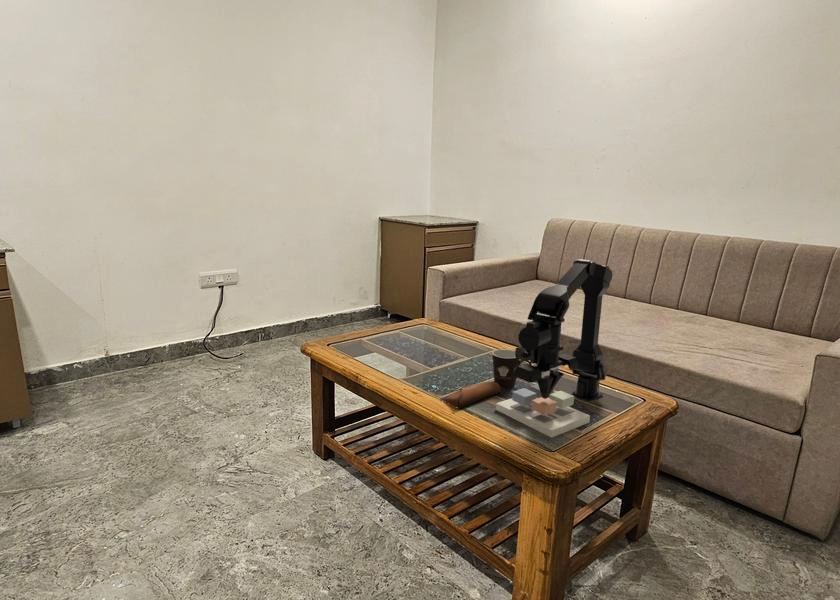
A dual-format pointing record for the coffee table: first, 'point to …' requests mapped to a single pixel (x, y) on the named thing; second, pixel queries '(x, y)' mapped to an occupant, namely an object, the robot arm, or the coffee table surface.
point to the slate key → (523, 396)
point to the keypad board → (544, 417)
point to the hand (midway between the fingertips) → (544, 398)
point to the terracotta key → (544, 405)
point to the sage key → (562, 399)
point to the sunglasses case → (472, 394)
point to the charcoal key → (537, 390)
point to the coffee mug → (505, 367)
